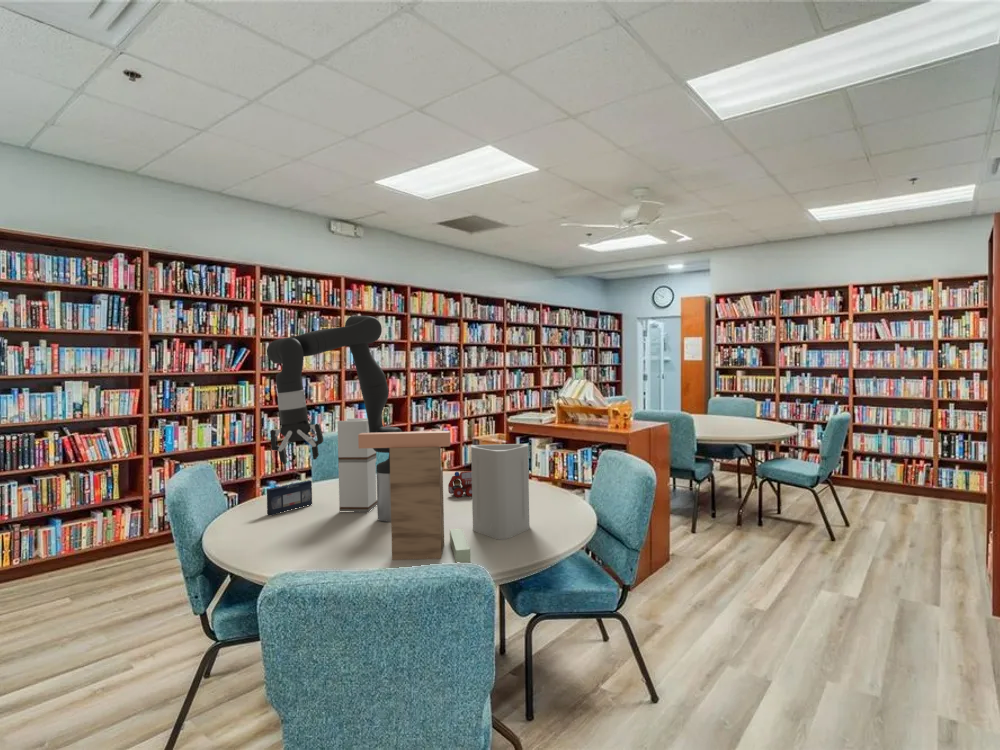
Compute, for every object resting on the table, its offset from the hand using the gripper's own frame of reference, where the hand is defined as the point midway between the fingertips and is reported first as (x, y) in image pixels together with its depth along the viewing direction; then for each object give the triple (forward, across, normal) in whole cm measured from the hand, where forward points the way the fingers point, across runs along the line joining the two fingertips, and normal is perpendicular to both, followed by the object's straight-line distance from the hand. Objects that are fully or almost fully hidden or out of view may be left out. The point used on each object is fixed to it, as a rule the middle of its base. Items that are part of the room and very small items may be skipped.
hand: (300, 461), depth 158 cm
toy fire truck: (+36, -50, -63) cm, 88 cm away
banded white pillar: (+31, -8, -50) cm, 60 cm away
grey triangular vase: (+34, -58, -8) cm, 68 cm away
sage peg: (+32, -43, +7) cm, 54 cm away
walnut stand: (+31, -31, +5) cm, 44 cm away
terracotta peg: (-1, -31, +7) cm, 32 cm away
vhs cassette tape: (+29, +18, -55) cm, 65 cm away
